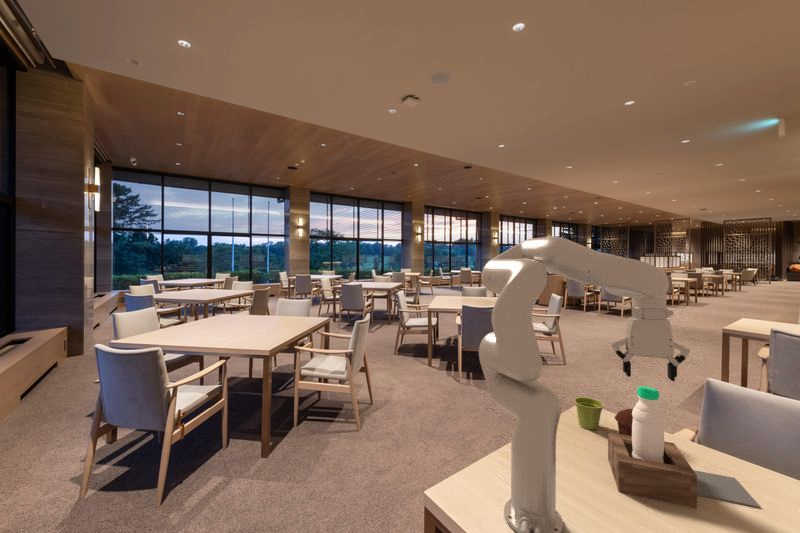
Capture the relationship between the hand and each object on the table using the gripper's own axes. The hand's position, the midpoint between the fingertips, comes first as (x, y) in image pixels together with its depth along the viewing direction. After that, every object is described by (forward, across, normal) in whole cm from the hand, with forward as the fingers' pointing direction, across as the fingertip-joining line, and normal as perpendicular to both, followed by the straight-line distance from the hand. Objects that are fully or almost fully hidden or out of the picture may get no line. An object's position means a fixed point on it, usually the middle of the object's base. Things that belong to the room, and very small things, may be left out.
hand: (649, 377), depth 92 cm
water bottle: (+28, +1, +1) cm, 28 cm away
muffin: (+28, -1, -22) cm, 36 cm away
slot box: (+28, +1, +1) cm, 28 cm away
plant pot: (+28, +12, -28) cm, 42 cm away
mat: (+28, -15, -3) cm, 32 cm away
